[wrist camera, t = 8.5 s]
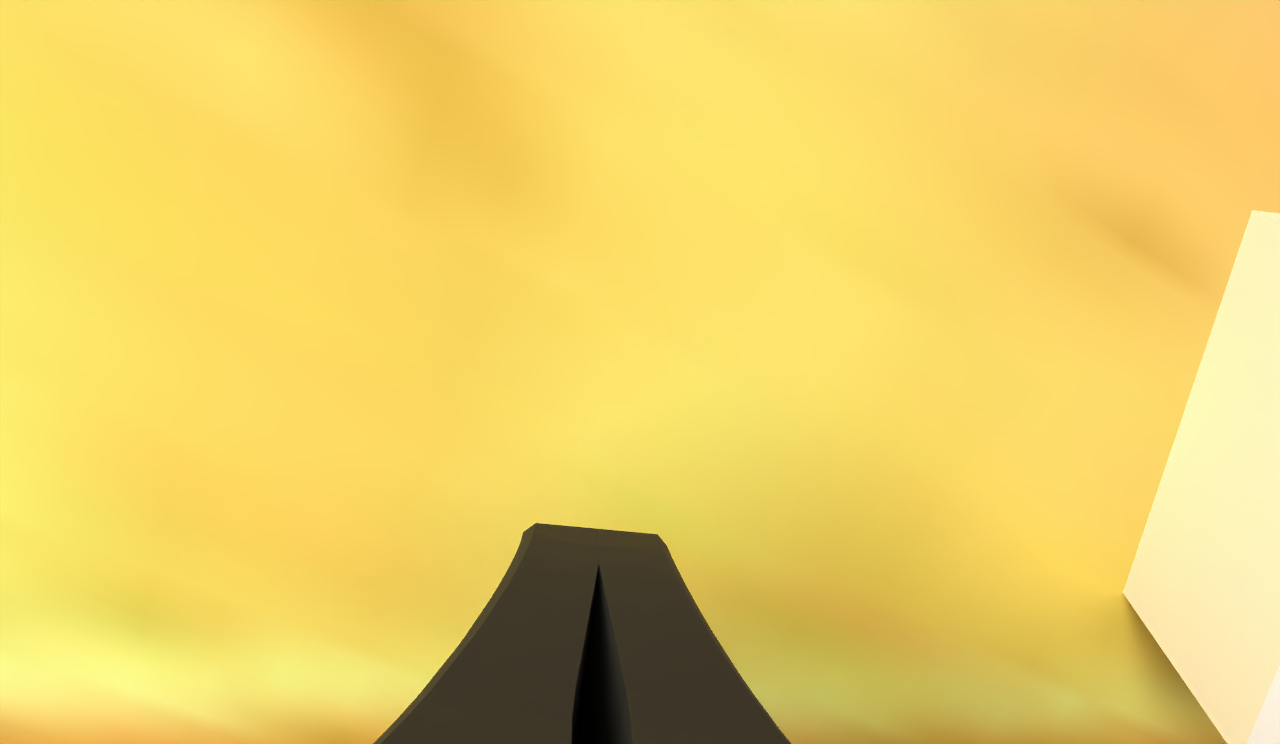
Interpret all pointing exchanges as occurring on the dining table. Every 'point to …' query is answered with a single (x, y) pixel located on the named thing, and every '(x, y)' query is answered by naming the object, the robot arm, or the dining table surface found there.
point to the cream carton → (1225, 511)
